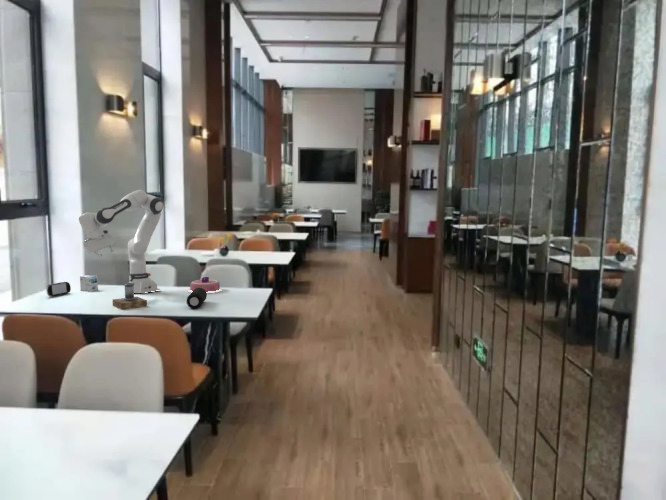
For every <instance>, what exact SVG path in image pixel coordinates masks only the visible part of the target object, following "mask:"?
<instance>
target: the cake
mask: <svg viewBox="0 0 666 500" xmlns="http://www.w3.org/2000/svg"><path fill="white" fill-rule="evenodd" d="M189 285H190V286H189V290H192V291H193V290H194V289H196V288H202V289H204V290H205V291H206V292H208V291H216V290H219V289H221V287H220V285H221V284H220V281H218V280H216V279H210V277H209V276H205V277H204V276H203V277H202V278H201V279H195V280H193V281H191V282H190V284H189Z"/></svg>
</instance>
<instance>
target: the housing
mask: <svg viewBox="0 0 666 500" xmlns="http://www.w3.org/2000/svg"><path fill="white" fill-rule="evenodd" d="M123 286H124V297H123V298H124V300H134V299H135V297H136V296H135V294H134V283H130V282H126V283H123Z"/></svg>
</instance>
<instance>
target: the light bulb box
mask: <svg viewBox="0 0 666 500" xmlns="http://www.w3.org/2000/svg"><path fill="white" fill-rule="evenodd" d="M98 282H99V281H98V275H86V274H85V275H80V276H79V285H80V288H79V289H80V291H83V292H84V291H85V292H96V291H98V290H99V283H98Z"/></svg>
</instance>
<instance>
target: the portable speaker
mask: <svg viewBox="0 0 666 500" xmlns="http://www.w3.org/2000/svg"><path fill="white" fill-rule="evenodd" d="M207 295H208V294H207V293H206V291H205V290H204V289H202V288H196V289H194V290H193V292H192V293H189V295H188V296H187V297H186V305H187V306H188V307H189V308H190V309H192V308H197V309H199V308H200V307H201V306H203V304H204V302H205V301H206V299H207V297H208V296H207ZM198 307H199V308H198Z"/></svg>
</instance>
